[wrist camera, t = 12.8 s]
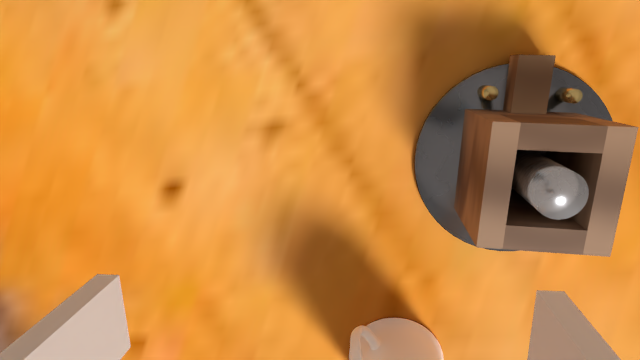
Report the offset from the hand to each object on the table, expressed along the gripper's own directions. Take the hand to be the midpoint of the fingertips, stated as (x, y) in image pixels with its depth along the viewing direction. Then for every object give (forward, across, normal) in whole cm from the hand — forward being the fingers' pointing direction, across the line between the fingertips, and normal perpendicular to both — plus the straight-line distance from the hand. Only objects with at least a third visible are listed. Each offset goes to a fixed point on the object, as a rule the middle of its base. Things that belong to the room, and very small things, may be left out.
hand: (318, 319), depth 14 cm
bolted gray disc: (+23, +13, 0) cm, 26 cm away
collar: (+22, +13, +2) cm, 26 cm away
